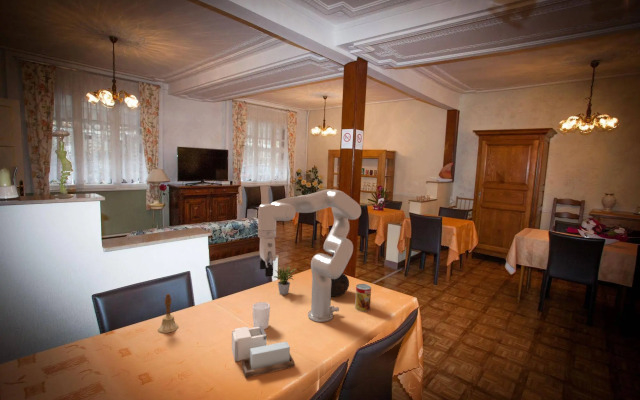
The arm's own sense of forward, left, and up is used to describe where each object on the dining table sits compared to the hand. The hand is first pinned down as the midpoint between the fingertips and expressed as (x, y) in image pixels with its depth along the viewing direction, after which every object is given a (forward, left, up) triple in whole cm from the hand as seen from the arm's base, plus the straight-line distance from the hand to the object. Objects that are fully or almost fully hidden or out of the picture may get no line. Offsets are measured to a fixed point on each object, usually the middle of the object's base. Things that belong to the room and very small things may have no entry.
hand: (266, 272), depth 134 cm
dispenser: (+9, +11, -28) cm, 31 cm away
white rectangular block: (+3, +21, -28) cm, 35 cm away
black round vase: (-49, -32, -28) cm, 65 cm away
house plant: (-21, -40, -28) cm, 53 cm away
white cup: (0, -8, -28) cm, 30 cm away
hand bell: (+39, -20, -29) cm, 52 cm away
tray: (+4, +21, -28) cm, 35 cm away
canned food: (-55, -9, -28) cm, 63 cm away
